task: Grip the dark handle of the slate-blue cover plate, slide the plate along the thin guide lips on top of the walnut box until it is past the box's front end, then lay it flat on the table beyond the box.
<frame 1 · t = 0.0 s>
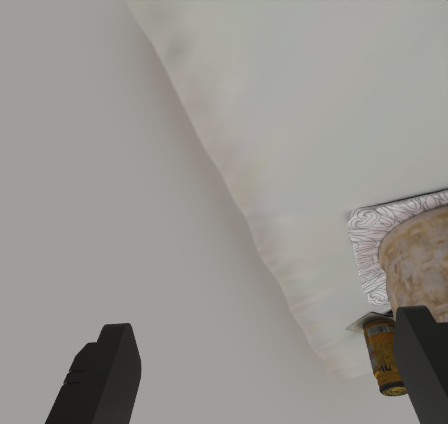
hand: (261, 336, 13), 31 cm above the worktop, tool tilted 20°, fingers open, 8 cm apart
condiment: (375, 323, 80), on the worktop
cookie jar: (441, 240, 61), on the worktop
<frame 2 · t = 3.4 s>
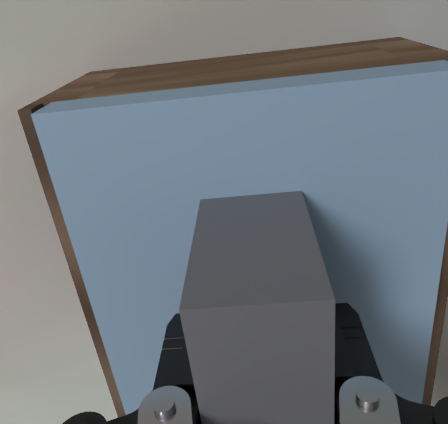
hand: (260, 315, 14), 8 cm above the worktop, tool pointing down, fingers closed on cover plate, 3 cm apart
wooden box: (253, 204, 21), on the worktop
cover plate: (258, 276, 16), point 6 cm above the worktop, touching gripper, wooden box
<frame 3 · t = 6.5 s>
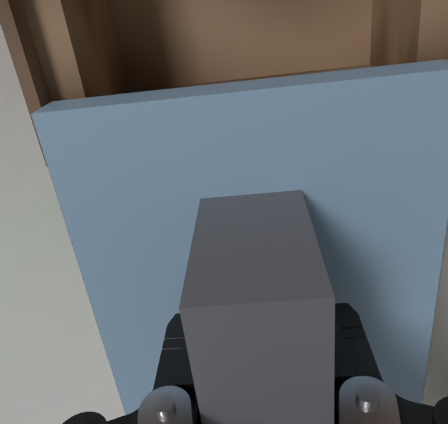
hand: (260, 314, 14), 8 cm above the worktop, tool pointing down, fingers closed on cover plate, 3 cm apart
cover plate: (258, 275, 16), point 6 cm above the worktop, touching gripper
when the fingers open (5 cm above the worktop, at t = 9.6 s): cover plate drops 3 cm, on the worktop.
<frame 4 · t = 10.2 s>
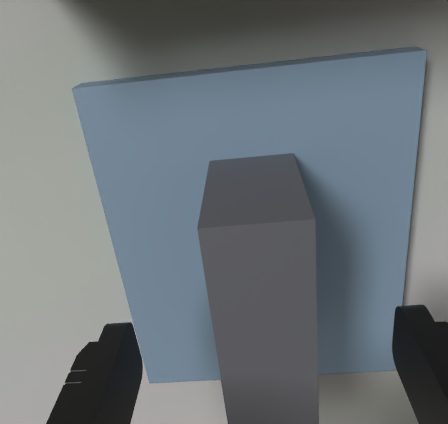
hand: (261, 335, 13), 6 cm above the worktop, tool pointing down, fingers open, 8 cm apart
cover plate: (257, 232, 18), on the worktop
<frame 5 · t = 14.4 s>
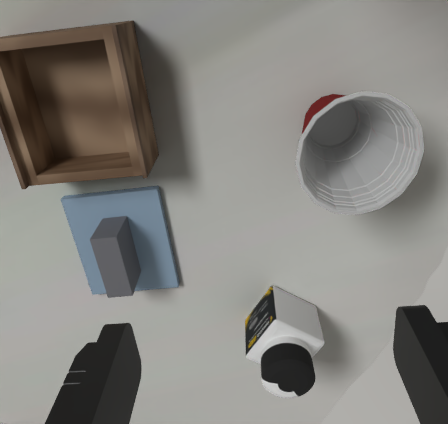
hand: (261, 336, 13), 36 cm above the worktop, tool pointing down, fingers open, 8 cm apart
wooden box: (87, 98, 46), on the worktop
medicine bottle: (280, 311, 59), on the worktop
plastic cup: (332, 119, 46), on the worktop
cover plate: (125, 239, 55), on the worktop
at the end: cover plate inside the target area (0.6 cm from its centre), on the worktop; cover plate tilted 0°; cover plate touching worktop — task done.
